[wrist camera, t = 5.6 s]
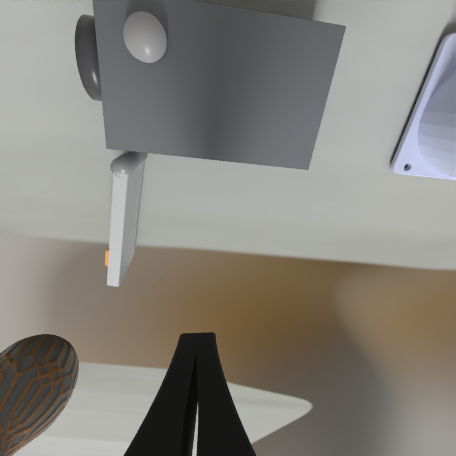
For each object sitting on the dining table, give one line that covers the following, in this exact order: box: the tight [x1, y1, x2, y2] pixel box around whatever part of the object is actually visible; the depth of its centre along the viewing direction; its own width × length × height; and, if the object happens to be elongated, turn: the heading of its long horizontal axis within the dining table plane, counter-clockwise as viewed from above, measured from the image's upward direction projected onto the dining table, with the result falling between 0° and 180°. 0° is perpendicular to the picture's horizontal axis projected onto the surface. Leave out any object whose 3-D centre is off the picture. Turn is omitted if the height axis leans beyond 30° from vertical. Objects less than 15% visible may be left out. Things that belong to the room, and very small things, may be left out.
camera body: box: [75, 0, 346, 170], centre depth 13 cm, size 11×6×5 cm, turn 83°
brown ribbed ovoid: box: [0, 334, 79, 456], centre depth 21 cm, size 7×7×9 cm
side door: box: [105, 151, 147, 287], centre depth 16 cm, size 8×1×4 cm, turn 165°
